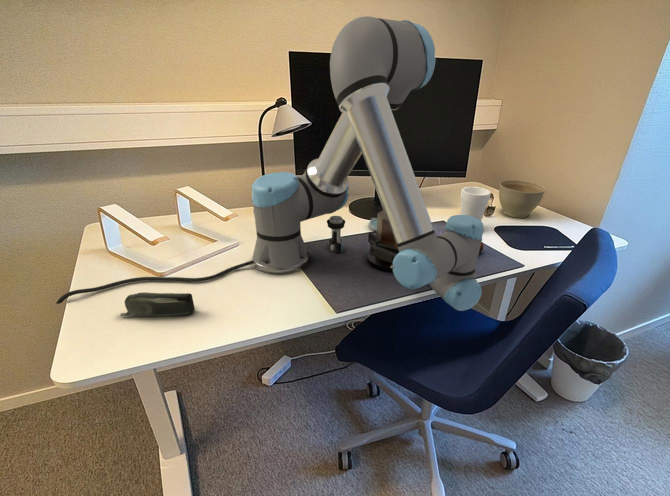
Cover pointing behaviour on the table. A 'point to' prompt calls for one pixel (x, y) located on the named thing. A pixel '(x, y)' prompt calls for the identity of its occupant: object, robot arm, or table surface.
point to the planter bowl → (519, 197)
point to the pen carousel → (384, 231)
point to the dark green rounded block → (159, 304)
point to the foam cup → (474, 201)
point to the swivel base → (379, 264)
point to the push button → (336, 233)
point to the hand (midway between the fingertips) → (391, 233)
